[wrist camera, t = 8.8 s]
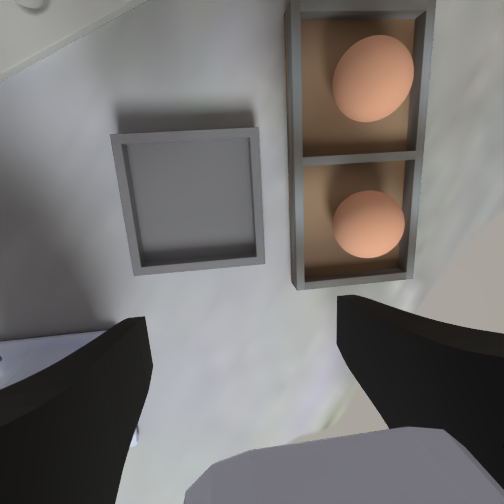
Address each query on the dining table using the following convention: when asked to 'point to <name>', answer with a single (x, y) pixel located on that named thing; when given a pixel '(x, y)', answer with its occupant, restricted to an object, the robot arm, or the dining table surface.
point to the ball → (373, 78)
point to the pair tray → (351, 136)
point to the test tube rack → (49, 27)
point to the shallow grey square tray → (191, 199)
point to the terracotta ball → (368, 224)
